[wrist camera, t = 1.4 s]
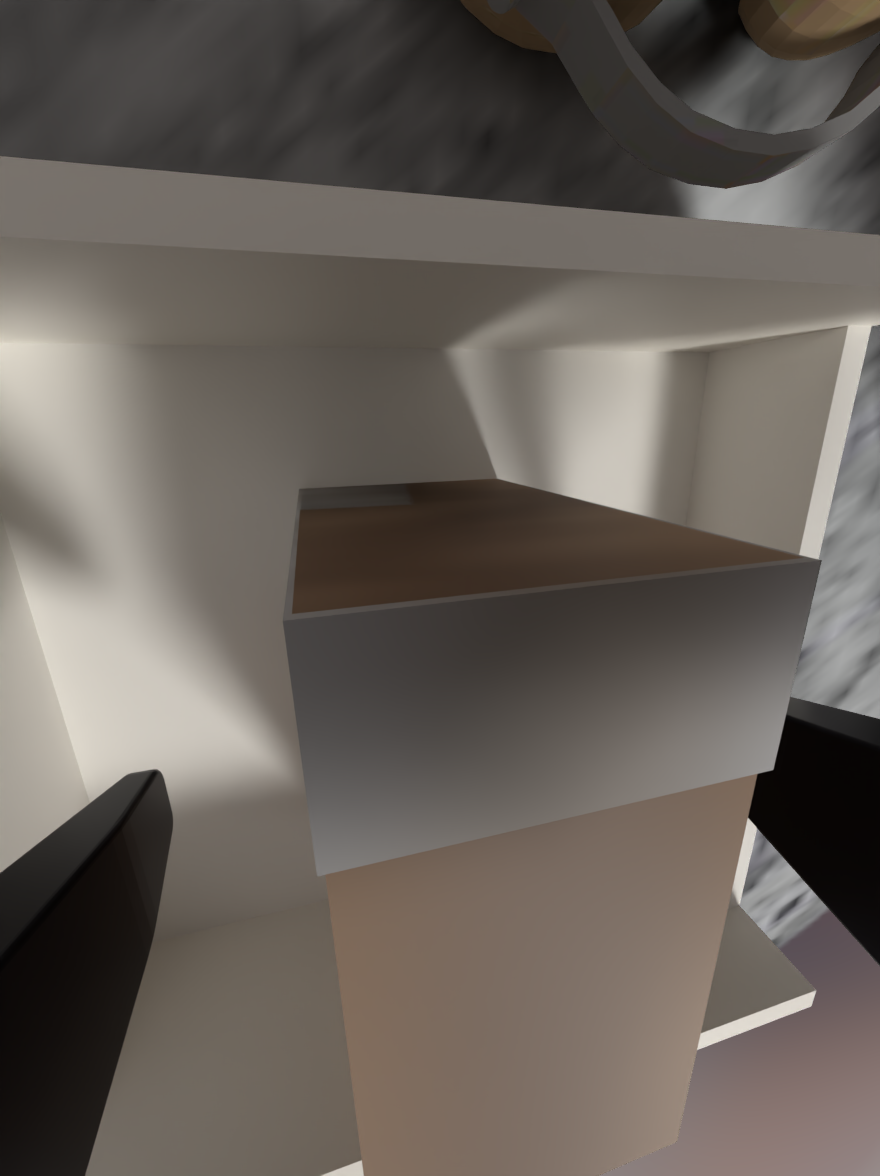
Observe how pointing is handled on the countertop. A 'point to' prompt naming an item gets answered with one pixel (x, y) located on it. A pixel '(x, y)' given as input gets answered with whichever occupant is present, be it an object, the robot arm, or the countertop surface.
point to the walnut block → (528, 805)
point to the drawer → (266, 525)
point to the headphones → (657, 116)
